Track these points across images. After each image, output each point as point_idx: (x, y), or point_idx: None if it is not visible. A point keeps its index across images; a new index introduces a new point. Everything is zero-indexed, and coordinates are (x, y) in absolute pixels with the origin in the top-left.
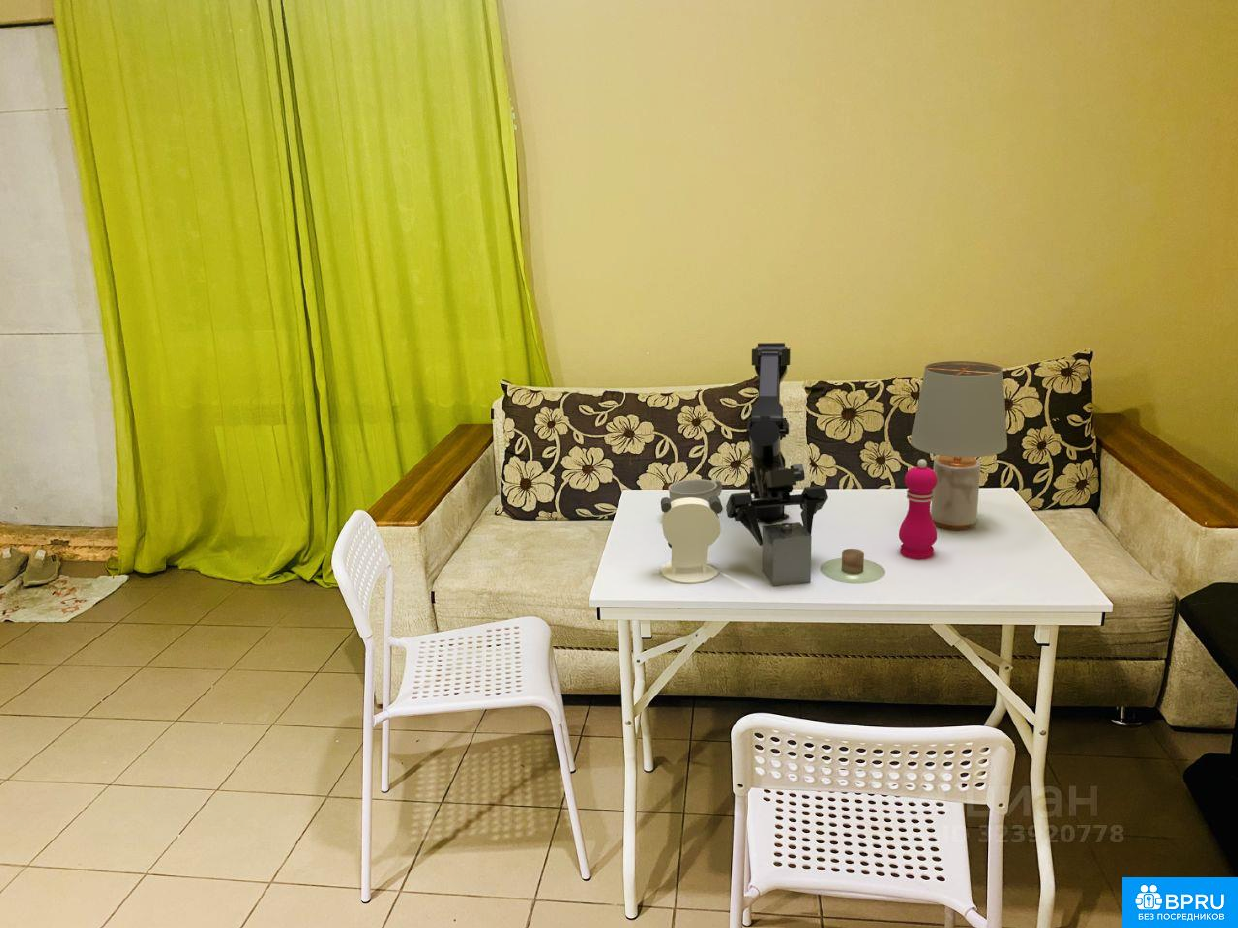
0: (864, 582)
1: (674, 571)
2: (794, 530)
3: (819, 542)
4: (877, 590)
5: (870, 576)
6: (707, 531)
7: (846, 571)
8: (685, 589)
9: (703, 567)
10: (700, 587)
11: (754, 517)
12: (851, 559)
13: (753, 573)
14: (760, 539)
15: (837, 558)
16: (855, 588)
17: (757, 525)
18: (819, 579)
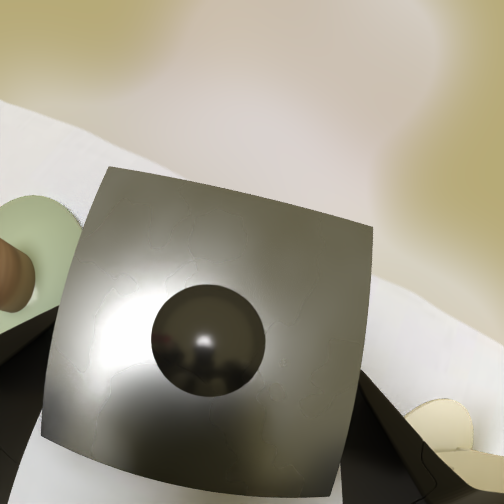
0: (41, 198)
1: (462, 448)
2: (147, 310)
3: (12, 489)
4: (44, 170)
5: (9, 223)
6: (495, 479)
7: (32, 268)
8: (464, 371)
9: None
10: (440, 374)
11: (436, 495)
12: (5, 242)
13: None
14: (368, 384)
15: None
16: (71, 197)
17: (406, 448)
18: None
